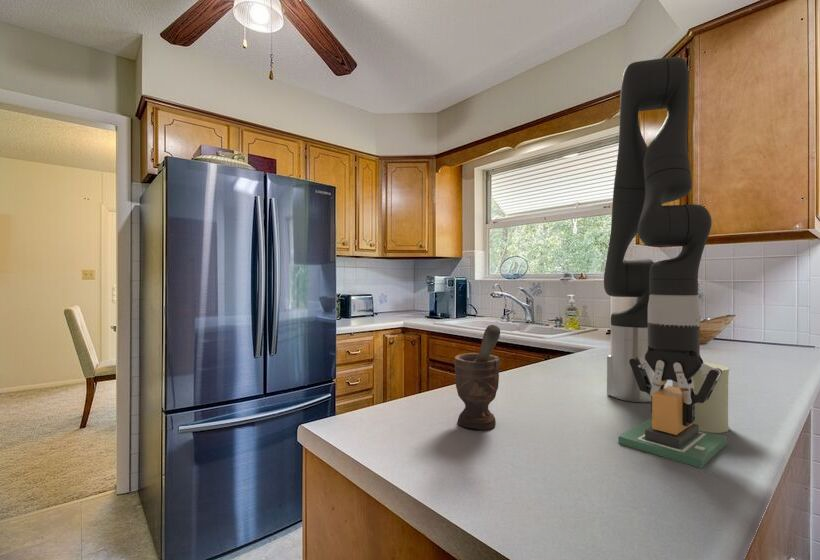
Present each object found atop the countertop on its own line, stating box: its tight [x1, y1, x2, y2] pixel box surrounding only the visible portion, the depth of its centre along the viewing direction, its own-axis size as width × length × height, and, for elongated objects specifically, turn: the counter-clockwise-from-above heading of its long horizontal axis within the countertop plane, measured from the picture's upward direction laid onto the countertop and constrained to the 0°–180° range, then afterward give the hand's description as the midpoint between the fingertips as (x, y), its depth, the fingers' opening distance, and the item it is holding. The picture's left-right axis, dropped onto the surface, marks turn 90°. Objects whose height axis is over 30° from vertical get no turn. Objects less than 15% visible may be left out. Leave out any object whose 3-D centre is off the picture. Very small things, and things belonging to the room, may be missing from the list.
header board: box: [617, 418, 727, 469], centre depth 70 cm, size 12×14×6 cm
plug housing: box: [651, 385, 692, 435], centre depth 70 cm, size 4×8×6 cm, turn 130°
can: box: [671, 361, 730, 434], centre depth 79 cm, size 9×9×12 cm
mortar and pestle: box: [454, 324, 501, 431], centre depth 77 cm, size 12×9×20 cm
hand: (672, 421), depth 70 cm, fingers closed on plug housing, 3 cm apart
